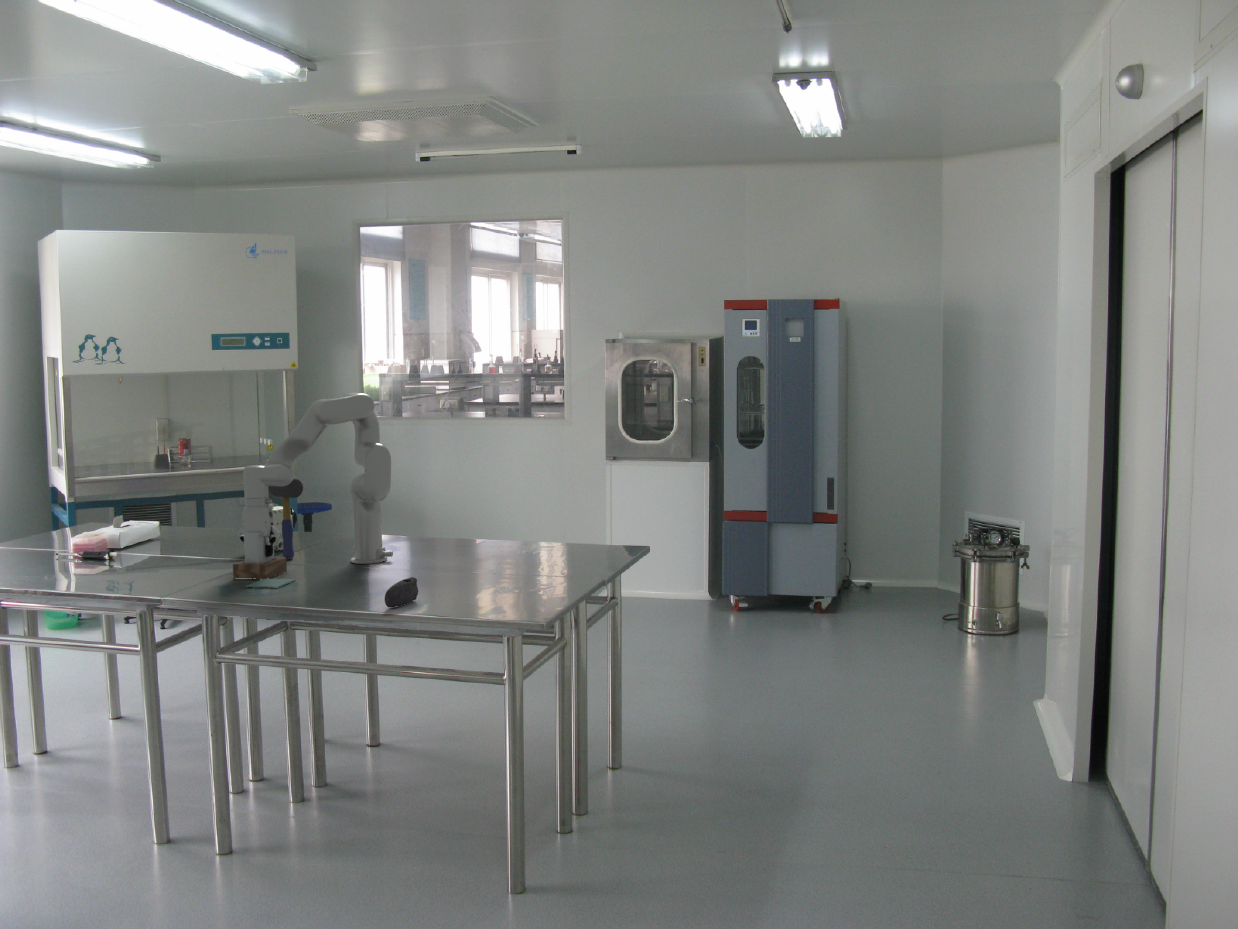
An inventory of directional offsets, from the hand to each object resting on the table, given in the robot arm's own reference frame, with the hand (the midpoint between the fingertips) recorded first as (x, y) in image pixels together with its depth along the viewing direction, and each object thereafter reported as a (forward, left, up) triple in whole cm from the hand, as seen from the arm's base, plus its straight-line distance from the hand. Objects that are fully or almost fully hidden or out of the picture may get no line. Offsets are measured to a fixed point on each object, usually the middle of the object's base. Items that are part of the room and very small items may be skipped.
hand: (259, 555), depth 331 cm
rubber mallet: (+5, -28, -7) cm, 29 cm away
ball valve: (+20, -45, -7) cm, 50 cm away
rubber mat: (-11, +13, -7) cm, 18 cm away
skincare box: (0, 0, -7) cm, 7 cm away
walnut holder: (0, 0, -7) cm, 7 cm away
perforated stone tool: (-64, +35, -7) cm, 73 cm away
